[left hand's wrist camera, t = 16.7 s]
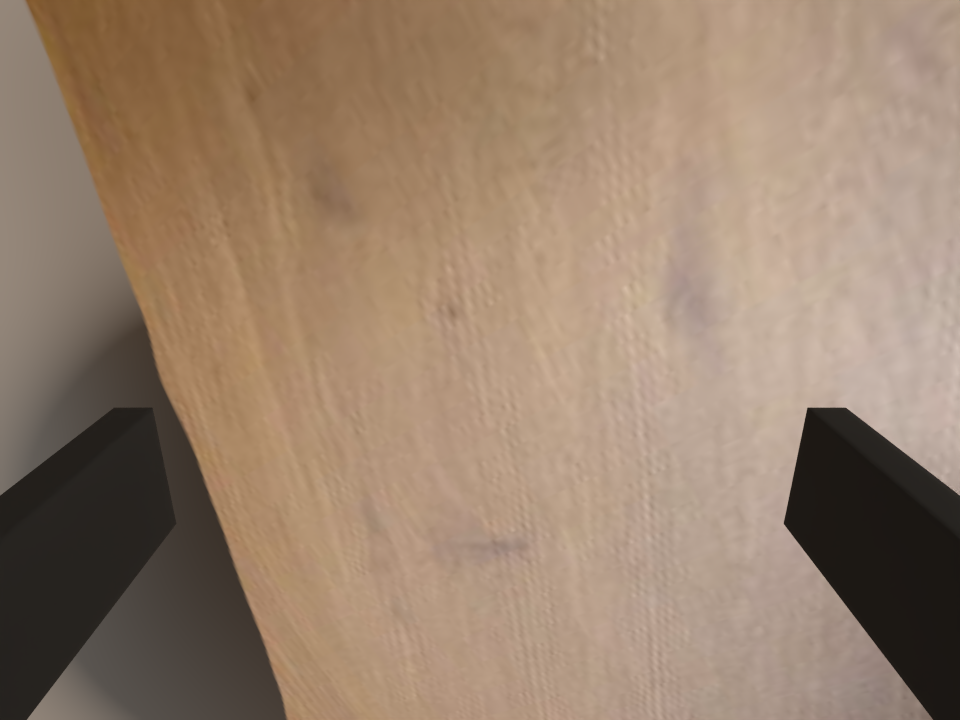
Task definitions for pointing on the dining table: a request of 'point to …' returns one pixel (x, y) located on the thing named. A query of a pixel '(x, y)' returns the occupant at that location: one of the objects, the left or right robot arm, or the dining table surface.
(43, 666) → the left robot arm
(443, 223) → the dining table surface
